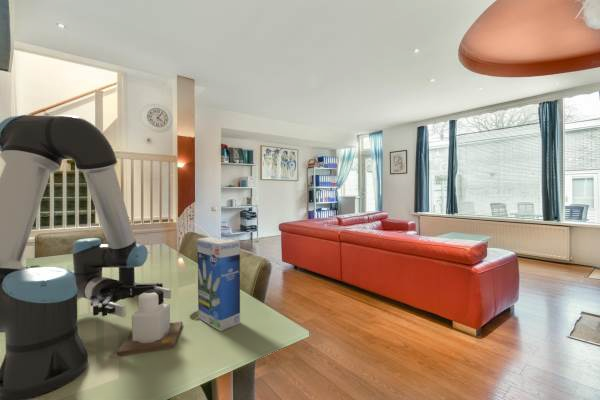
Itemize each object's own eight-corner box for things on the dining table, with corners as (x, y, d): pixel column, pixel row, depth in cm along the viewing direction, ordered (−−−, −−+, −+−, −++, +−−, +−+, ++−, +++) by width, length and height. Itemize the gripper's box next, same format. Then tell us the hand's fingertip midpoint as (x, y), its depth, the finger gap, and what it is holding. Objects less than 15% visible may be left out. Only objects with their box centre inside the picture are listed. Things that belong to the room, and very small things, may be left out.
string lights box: (197, 318, 89) (196, 238, 88) (218, 310, 95) (217, 235, 94) (220, 332, 80) (219, 243, 79) (242, 322, 86) (240, 240, 85)
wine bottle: (134, 282, 125) (132, 216, 124) (135, 286, 120) (133, 217, 119) (119, 285, 121) (117, 217, 120) (119, 288, 117) (117, 217, 116)
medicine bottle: (145, 328, 80) (143, 287, 79) (170, 327, 80) (169, 286, 80) (131, 342, 73) (130, 296, 72) (160, 340, 73) (158, 295, 73)
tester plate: (173, 348, 72) (173, 342, 72) (117, 355, 69) (116, 349, 69) (182, 324, 85) (181, 320, 85) (134, 330, 81) (134, 325, 81)
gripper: (143, 289, 99) (185, 299, 89) (57, 318, 77) (100, 336, 67) (142, 268, 99) (184, 276, 89) (56, 291, 76) (99, 305, 67)
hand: (148, 302), depth 78 cm, fingers open, 13 cm apart
